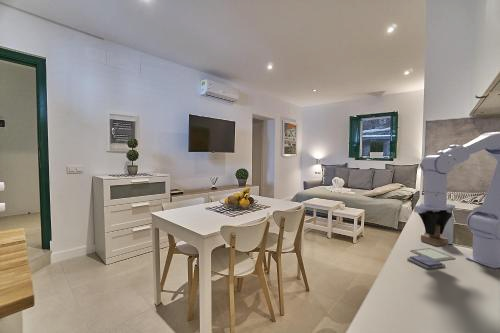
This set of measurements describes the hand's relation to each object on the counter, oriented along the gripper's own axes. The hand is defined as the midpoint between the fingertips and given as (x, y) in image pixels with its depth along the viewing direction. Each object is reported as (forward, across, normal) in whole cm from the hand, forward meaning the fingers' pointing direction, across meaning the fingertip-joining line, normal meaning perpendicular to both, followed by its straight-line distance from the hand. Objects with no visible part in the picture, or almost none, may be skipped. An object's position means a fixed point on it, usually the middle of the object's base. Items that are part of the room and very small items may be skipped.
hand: (434, 233), depth 74 cm
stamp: (+3, 0, 0) cm, 3 cm away
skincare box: (+10, -24, -15) cm, 31 cm away
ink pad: (+10, +2, -1) cm, 10 cm away
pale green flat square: (+10, -7, -6) cm, 14 cm away
